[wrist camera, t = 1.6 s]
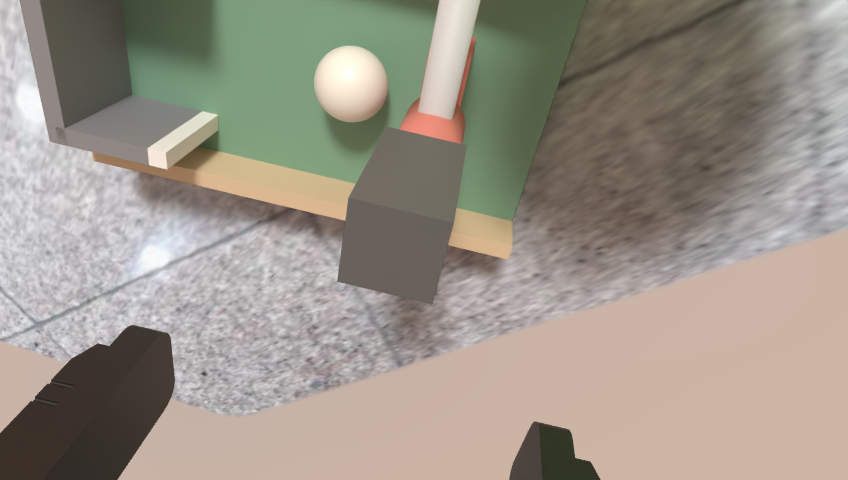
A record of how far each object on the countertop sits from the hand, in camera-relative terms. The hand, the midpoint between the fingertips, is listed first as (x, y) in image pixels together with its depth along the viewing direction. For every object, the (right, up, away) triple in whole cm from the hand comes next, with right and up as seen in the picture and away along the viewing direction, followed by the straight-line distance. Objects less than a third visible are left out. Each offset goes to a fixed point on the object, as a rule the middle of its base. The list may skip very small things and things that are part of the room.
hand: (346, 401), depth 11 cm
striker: (+3, +12, +18) cm, 22 cm away
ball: (-2, +12, +17) cm, 21 cm away
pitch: (-4, +14, +20) cm, 24 cm away
